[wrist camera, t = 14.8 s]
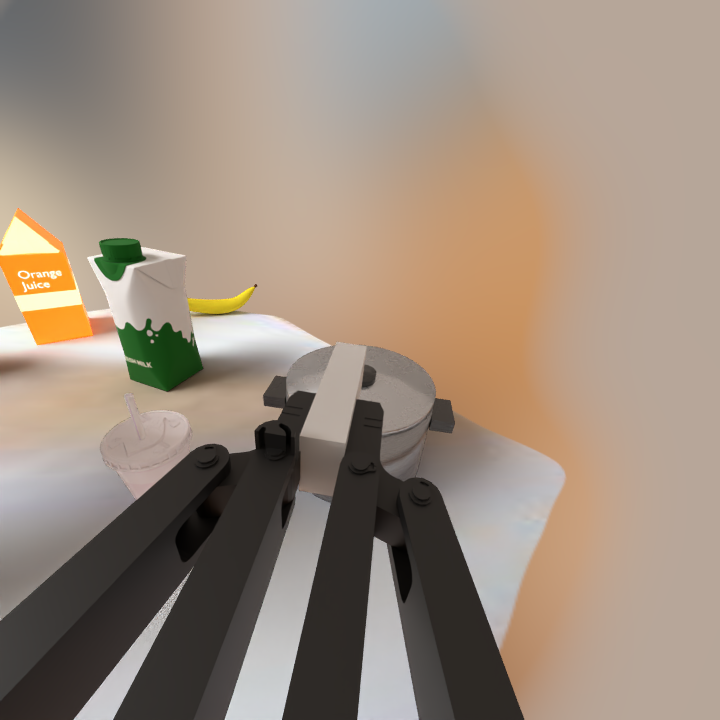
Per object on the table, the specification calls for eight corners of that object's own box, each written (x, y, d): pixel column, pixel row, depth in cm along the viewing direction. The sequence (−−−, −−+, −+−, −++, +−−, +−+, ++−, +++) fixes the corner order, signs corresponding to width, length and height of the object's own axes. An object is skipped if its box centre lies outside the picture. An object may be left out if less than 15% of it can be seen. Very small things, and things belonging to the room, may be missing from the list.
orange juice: (89, 318, 64) (50, 207, 54) (94, 335, 59) (51, 215, 49) (36, 326, 60) (-18, 206, 50) (35, 345, 54) (-26, 215, 44)
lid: (308, 344, 43) (308, 330, 42) (428, 360, 42) (431, 347, 41) (262, 423, 30) (261, 406, 29) (440, 450, 29) (445, 433, 28)
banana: (164, 314, 69) (157, 285, 66) (258, 309, 76) (256, 282, 73) (163, 320, 67) (156, 290, 63) (259, 313, 74) (257, 286, 70)
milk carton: (120, 381, 48) (71, 238, 38) (170, 354, 56) (140, 229, 46) (167, 397, 46) (129, 250, 36) (212, 367, 53) (191, 239, 43)
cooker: (292, 398, 48) (290, 344, 43) (432, 419, 47) (446, 365, 42) (239, 504, 33) (228, 437, 28) (446, 538, 31) (470, 474, 27)
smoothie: (115, 536, 29) (54, 413, 22) (157, 478, 34) (120, 364, 27) (186, 544, 29) (149, 423, 22) (218, 484, 34) (196, 372, 27)
